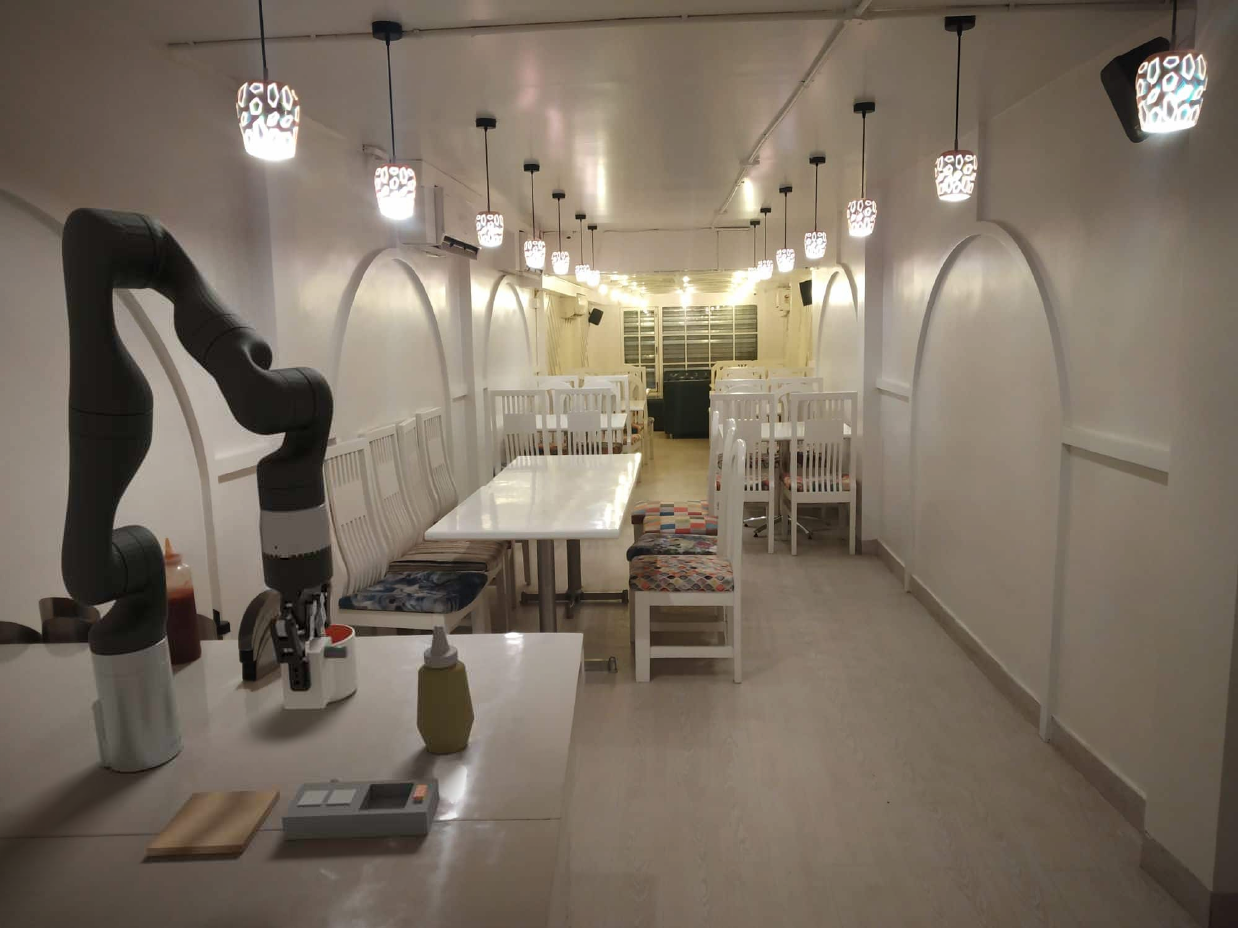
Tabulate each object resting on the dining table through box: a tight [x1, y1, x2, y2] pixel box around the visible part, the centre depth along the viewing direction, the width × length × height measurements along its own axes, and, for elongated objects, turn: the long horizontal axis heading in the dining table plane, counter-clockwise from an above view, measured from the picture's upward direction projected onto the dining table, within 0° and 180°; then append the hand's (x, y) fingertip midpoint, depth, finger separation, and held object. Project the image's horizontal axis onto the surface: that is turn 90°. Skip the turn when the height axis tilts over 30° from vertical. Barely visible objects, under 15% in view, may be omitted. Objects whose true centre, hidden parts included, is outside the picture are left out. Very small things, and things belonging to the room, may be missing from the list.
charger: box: [280, 637, 348, 710], centre depth 97 cm, size 7×4×7 cm, turn 92°
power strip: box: [281, 777, 440, 841], centre depth 102 cm, size 17×11×4 cm, turn 91°
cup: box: [298, 623, 360, 704], centre depth 134 cm, size 10×10×10 cm
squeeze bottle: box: [416, 624, 475, 755], centre depth 116 cm, size 8×8×18 cm
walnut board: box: [146, 789, 281, 857], centre depth 100 cm, size 11×11×1 cm
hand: (308, 679), depth 97 cm, fingers closed on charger, 4 cm apart
